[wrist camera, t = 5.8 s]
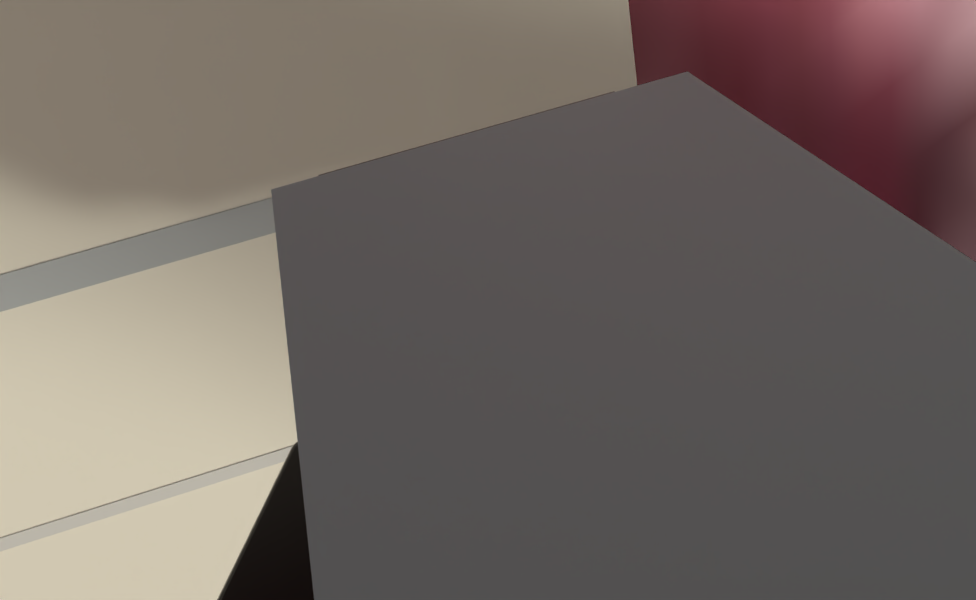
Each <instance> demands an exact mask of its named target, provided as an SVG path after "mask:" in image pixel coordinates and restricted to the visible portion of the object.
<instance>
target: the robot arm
mask: <svg viewBox="0 0 976 600" xmlns="http://www.w3.org/2000/svg"><path fill="white" fill-rule="evenodd" d="M217 600H314V594H313V584H312V575H311V565H310V556H309V546H308V536H307V527H306V517H305V508H304V498H303V489H302V479H301V470H300V460H299V451H298V442H296V443H295V444H294V445H293V446H292V448H291V450H290V452H289V454H288V456H287V458H286V460H285V462H284V464H283V466H282V468H281V470H280V472H279V474H278V476H277V478H276V480H275V482H274V484H273V486H272V489H271V491H270V493H269V495H268V497H267V499H266V501H265V503H264V505H263V507H262V509H261V511H260V513H259V515H258V517H257V519H256V521H255V523H254V525H253V527H252V529H251V531H250V534H249V536H248V538H247V540H246V542H245V544H244V546H243V548H242V550H241V552H240V554H239V556H238V558H237V560H236V562H235V564H234V566H233V568H232V570H231V572H230V574H229V576H228V578H227V581H226V583H225V585H224V587H223V589H222V591H221V593H220V595H219V597H218V599H217Z"/></svg>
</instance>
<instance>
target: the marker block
mask: <svg viewBox="0 0 976 600" xmlns="http://www.w3.org/2000/svg"><path fill="white" fill-rule="evenodd" d="M271 193H272V203H273V212H274V222H275V231H276V241H277V251H278V260H279V270H280V279H281V289H282V298H283V308H284V317H285V327H286V336H287V346H288V355H289V365H290V374H291V384H292V394H293V403H294V413H295V422H296V432H297V441H298V451H299V460H300V470H301V479H302V489H303V498H304V508H305V517H306V527H307V536H308V546H309V556H310V565H311V575H312V584H313V594H314V600H976V262H975V261H973V260H972V259H970V258H969V257H967V256H966V255H964V254H963V253H961V252H960V251H958V250H957V249H955V248H954V247H952V246H951V245H949V244H948V243H946V242H945V241H943V240H942V239H940V238H939V237H937V236H936V235H934V234H933V233H931V232H930V231H928V230H927V229H925V228H923V227H922V226H920V225H919V224H917V223H916V222H914V221H913V220H911V219H910V218H908V217H907V216H905V215H904V214H902V213H901V212H899V211H898V210H896V209H895V208H893V207H892V206H890V205H889V204H887V203H886V202H884V201H883V200H881V199H880V198H878V197H877V196H875V195H874V194H872V193H871V192H869V191H868V190H866V189H865V188H863V187H861V186H860V185H858V184H857V183H855V182H854V181H852V180H851V179H849V178H848V177H846V176H845V175H843V174H842V173H840V172H839V171H837V170H836V169H834V168H833V167H831V166H830V165H828V164H827V163H825V162H824V161H822V160H821V159H819V158H818V157H816V156H815V155H813V154H812V153H810V152H809V151H807V150H806V149H804V148H803V147H801V146H800V145H798V144H796V143H795V142H793V141H792V140H790V139H789V138H787V137H786V136H784V135H783V134H781V133H780V132H778V131H777V130H775V129H774V128H772V127H771V126H769V125H768V124H766V123H765V122H763V121H762V120H760V119H759V118H757V117H756V116H754V115H753V114H751V113H750V112H748V111H747V110H745V109H744V108H742V107H741V106H739V105H738V104H736V103H734V102H733V101H731V100H730V99H728V98H727V97H725V96H724V95H722V94H721V93H719V92H718V91H716V90H715V89H713V88H712V87H710V86H709V85H707V84H706V83H704V82H703V81H701V80H700V79H698V78H697V77H695V76H694V75H692V74H691V73H689V72H688V71H687V72H684V73H680V74H677V75H673V76H670V77H666V78H663V79H659V80H655V81H652V82H648V83H645V84H641V85H638V86H634V87H631V88H627V89H624V90H620V91H617V92H615V91H613V92H609V93H606V94H602V95H599V96H595V97H592V98H588V99H585V100H581V101H578V102H574V103H570V104H567V105H563V106H560V107H556V108H553V109H549V110H546V111H542V112H539V113H535V114H532V115H528V116H525V117H521V118H518V119H514V120H510V121H507V122H503V123H500V124H496V125H493V126H489V127H486V128H482V129H479V130H475V131H472V132H468V133H465V134H461V135H457V136H454V137H450V138H447V139H443V140H440V141H436V142H433V143H429V144H426V145H422V146H419V147H415V148H412V149H408V150H405V151H401V152H397V153H394V154H390V155H387V156H383V157H380V158H376V159H373V160H369V161H366V162H362V163H359V164H355V165H352V166H348V167H345V168H341V169H337V170H334V171H330V172H327V173H323V174H320V175H318V176H317V177H313V178H310V179H306V180H303V181H299V182H296V183H292V184H289V185H285V186H281V187H278V188H274V189H271Z"/></svg>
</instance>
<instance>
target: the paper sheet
mask: <svg viewBox="0 0 976 600" xmlns="http://www.w3.org/2000/svg"><path fill="white" fill-rule="evenodd" d="M634 86H637V78H636V69H635V59H634V50H633V40H632V31H631V21H630V12H629V2H628V0H0V600H217V599H218V597H219V595H220V593H221V591H222V589H223V587H224V585H225V583H226V581H227V578H228V576H229V574H230V572H231V570H232V568H233V566H234V564H235V562H236V560H237V558H238V556H239V554H240V552H241V550H242V548H243V546H244V544H245V542H246V540H247V538H248V536H249V534H250V531H251V529H252V527H253V525H254V523H255V521H256V519H257V517H258V515H259V513H260V511H261V509H262V507H263V505H264V503H265V501H266V499H267V497H268V495H269V493H270V491H271V489H272V486H273V484H274V482H275V480H276V478H277V476H278V474H279V472H280V470H281V468H282V466H283V464H284V462H285V460H286V458H287V456H288V454H289V452H290V450H291V448H292V446H293V445H294V444H295V443H296V442H298V441H297V432H296V422H295V413H294V403H293V394H292V384H291V374H290V365H289V355H288V346H287V336H286V327H285V317H284V308H283V298H282V289H281V279H280V270H279V260H278V251H277V241H276V231H275V222H274V212H273V203H272V193H271V189H274V188H278V187H281V186H285V185H289V184H292V183H296V182H299V181H303V180H306V179H310V178H313V177H317V176H318V175H320V174H323V173H327V172H330V171H334V170H337V169H341V168H345V167H348V166H352V165H355V164H359V163H362V162H366V161H369V160H373V159H376V158H380V157H383V156H387V155H390V154H394V153H397V152H401V151H405V150H408V149H412V148H415V147H419V146H422V145H426V144H429V143H433V142H436V141H440V140H443V139H447V138H450V137H454V136H457V135H461V134H465V133H468V132H472V131H475V130H479V129H482V128H486V127H489V126H493V125H496V124H500V123H503V122H507V121H510V120H514V119H518V118H521V117H525V116H528V115H532V114H535V113H539V112H542V111H546V110H549V109H553V108H556V107H560V106H563V105H567V104H570V103H574V102H578V101H581V100H585V99H588V98H592V97H595V96H599V95H602V94H606V93H609V92H613V91H615V92H617V91H620V90H624V89H627V88H631V87H634Z"/></svg>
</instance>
